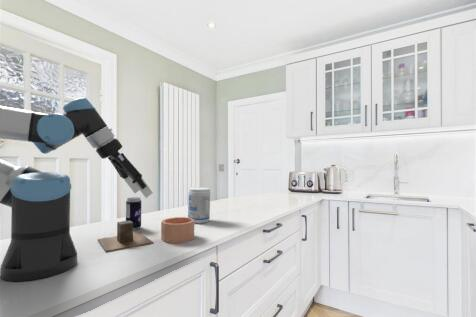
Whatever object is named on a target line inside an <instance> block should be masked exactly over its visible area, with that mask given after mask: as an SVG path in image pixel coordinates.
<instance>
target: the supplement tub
mask: <svg viewBox="0 0 476 317" xmlns="http://www.w3.org/2000/svg"><path fill="white" fill-rule="evenodd" d="M187 199H188V200H187V201H188V203H187V204H188V205H187V209H188V210H187V218H192V219H194V224H206V223H207V222H209V221H210V218H211V216H210V214H211V213H210V211H211V188H209V187H200V186H199V187H198V186H197V187H196V186H195V187H190V188H189V189H188V198H187Z"/></svg>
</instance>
